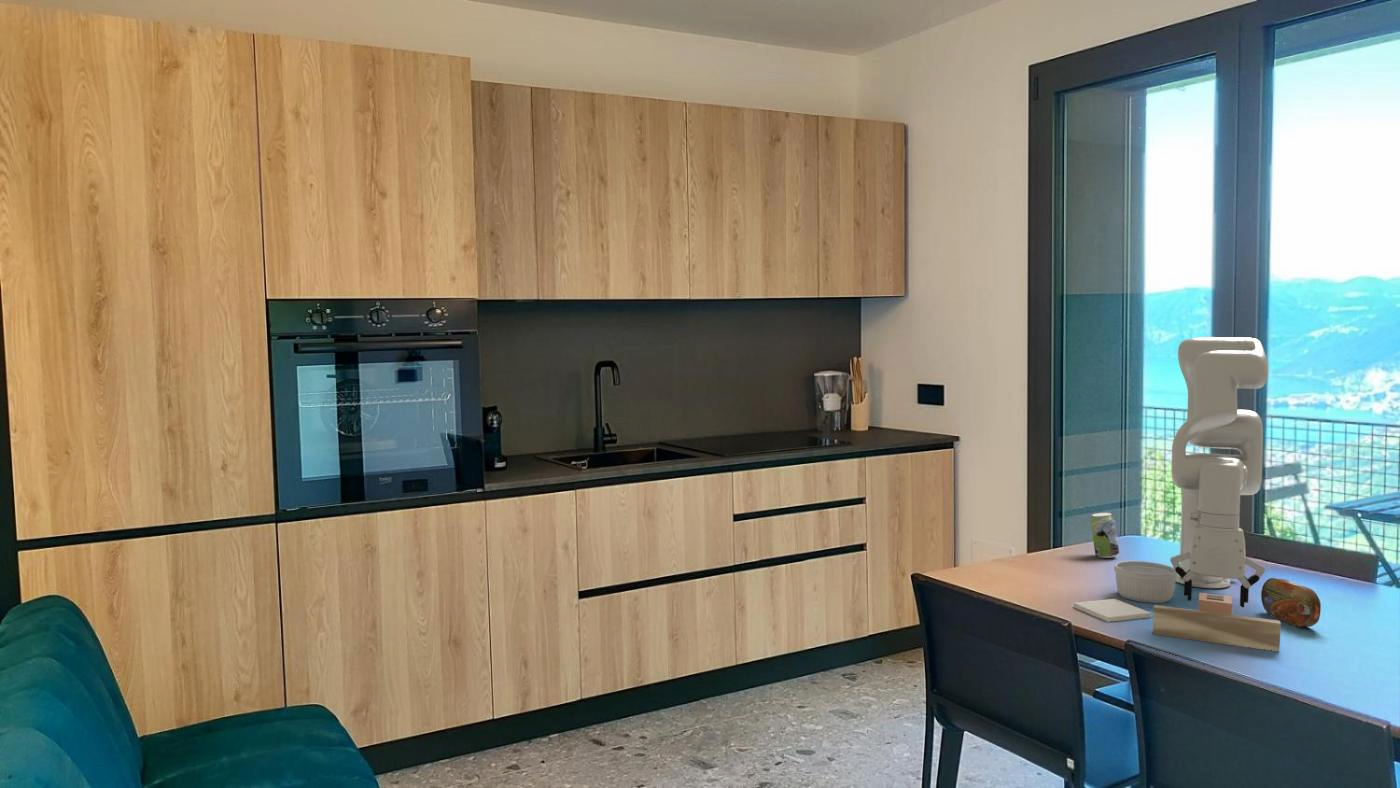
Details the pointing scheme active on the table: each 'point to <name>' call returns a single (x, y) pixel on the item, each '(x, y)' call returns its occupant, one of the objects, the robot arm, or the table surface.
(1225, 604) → the marked cube
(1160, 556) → the table surface
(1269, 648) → the wooden plank
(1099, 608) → the display tile
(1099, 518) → the beverage can
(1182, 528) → the robot arm
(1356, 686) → the table surface
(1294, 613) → the tin
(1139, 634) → the table surface
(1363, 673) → the table surface
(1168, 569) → the ramekin
